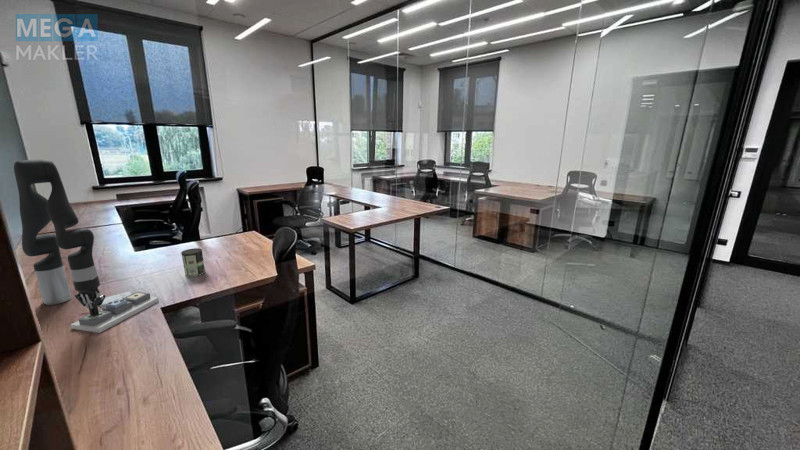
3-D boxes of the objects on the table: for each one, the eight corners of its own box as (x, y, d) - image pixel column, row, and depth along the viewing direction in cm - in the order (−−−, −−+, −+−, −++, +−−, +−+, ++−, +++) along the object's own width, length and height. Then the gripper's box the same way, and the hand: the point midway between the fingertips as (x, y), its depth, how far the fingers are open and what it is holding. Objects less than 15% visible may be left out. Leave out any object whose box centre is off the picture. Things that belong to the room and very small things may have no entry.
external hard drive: (97, 302, 155) (130, 293, 164) (100, 308, 150) (133, 298, 159) (97, 299, 155) (129, 290, 164) (99, 305, 149) (133, 295, 158)
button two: (84, 323, 133) (83, 317, 132) (97, 316, 138) (96, 311, 137) (94, 324, 132) (93, 318, 132) (107, 318, 137) (106, 312, 136)
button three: (106, 309, 141) (105, 303, 141) (118, 303, 146) (117, 298, 145) (116, 310, 141) (114, 304, 140) (127, 304, 145) (126, 299, 145)
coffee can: (202, 268, 195) (198, 246, 192) (207, 273, 189) (204, 251, 185) (182, 273, 188) (178, 250, 184) (187, 278, 181) (183, 255, 178)
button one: (127, 302, 150) (126, 297, 150) (137, 297, 155) (136, 292, 154) (136, 303, 149) (135, 298, 149) (146, 298, 154) (145, 293, 154)
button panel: (71, 328, 133) (69, 319, 131) (134, 298, 158) (133, 290, 157) (99, 332, 130) (97, 323, 129) (158, 301, 156) (157, 292, 155)
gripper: (61, 279, 127) (71, 318, 132) (88, 282, 125) (98, 321, 130) (82, 272, 135) (91, 309, 139) (108, 274, 132) (117, 312, 137)
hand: (94, 315), depth 134 cm, fingers closed
